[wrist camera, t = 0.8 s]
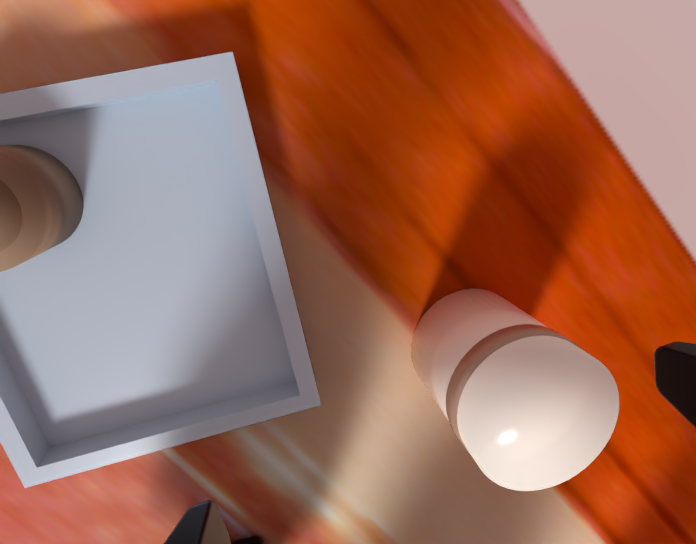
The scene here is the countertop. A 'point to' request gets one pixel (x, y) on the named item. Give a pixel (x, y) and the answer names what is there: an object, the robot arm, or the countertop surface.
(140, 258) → the tray
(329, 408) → the countertop surface
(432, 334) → the cream lidded jar
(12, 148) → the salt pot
